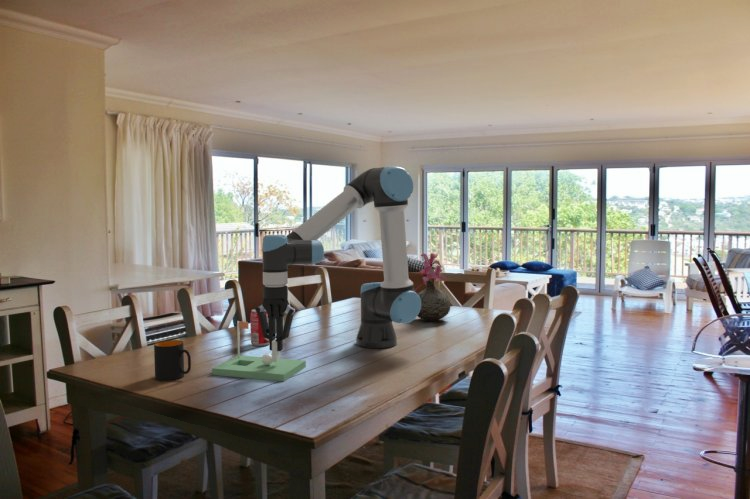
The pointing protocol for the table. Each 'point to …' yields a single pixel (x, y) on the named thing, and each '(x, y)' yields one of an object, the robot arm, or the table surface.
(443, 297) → the vase
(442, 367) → the table surface
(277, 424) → the table surface
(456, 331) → the table surface
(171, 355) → the mug
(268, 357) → the ball
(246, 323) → the miniature golf green
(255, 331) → the soda can
